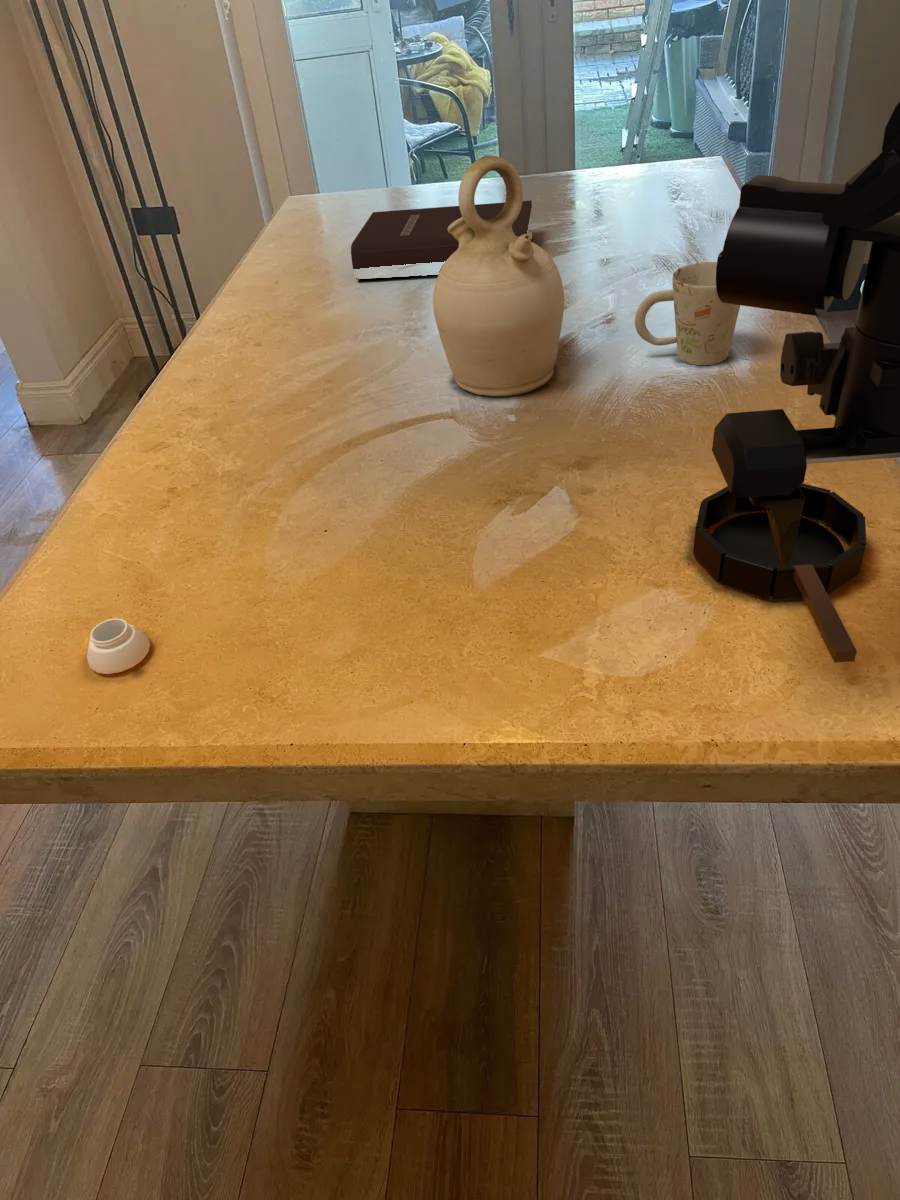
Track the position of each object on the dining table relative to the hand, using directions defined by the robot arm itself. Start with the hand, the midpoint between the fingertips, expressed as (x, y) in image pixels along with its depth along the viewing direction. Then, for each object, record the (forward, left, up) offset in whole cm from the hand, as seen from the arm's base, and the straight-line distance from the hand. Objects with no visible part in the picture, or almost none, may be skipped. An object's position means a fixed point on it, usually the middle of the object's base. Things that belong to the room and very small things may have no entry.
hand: (854, 557), depth 56 cm
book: (+3, -107, -10) cm, 108 cm away
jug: (+7, -58, -10) cm, 60 cm away
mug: (-15, -53, -10) cm, 56 cm away
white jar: (+52, -20, -10) cm, 57 cm away
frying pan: (-3, -9, -10) cm, 14 cm away
